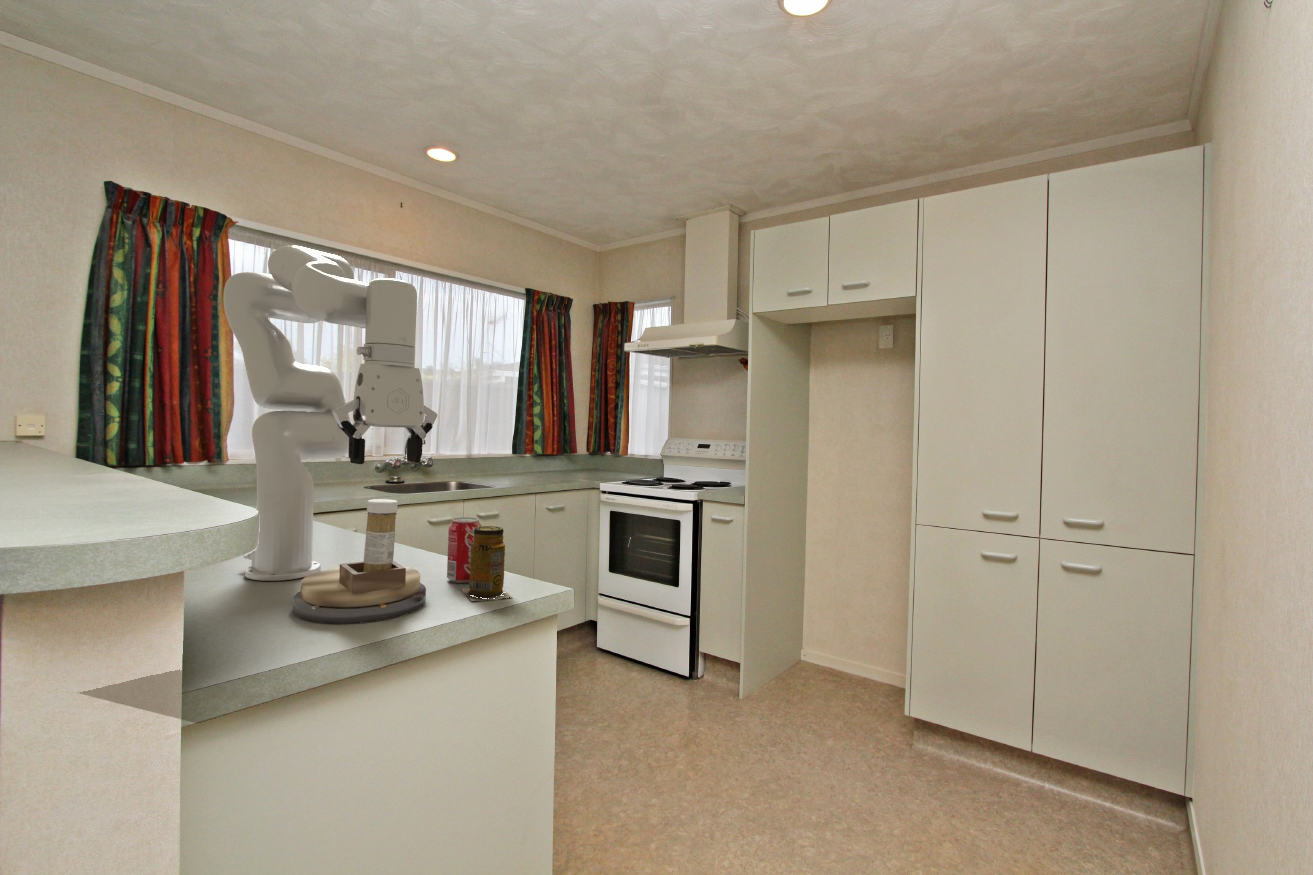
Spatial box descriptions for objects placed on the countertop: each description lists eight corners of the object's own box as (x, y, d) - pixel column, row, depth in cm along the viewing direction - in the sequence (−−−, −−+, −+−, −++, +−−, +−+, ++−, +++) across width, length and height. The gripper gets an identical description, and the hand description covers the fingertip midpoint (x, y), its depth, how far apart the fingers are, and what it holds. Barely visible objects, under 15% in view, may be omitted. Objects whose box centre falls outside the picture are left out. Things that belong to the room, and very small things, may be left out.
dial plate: (262, 613, 96) (262, 598, 96) (358, 582, 115) (359, 570, 115) (366, 631, 90) (366, 616, 90) (449, 595, 110) (450, 583, 110)
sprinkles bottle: (375, 577, 103) (381, 497, 103) (398, 581, 101) (404, 500, 102) (354, 583, 98) (361, 499, 98) (378, 587, 97) (384, 502, 97)
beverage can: (484, 577, 123) (487, 517, 123) (472, 585, 117) (474, 522, 117) (455, 575, 124) (457, 515, 123) (441, 583, 118) (443, 520, 117)
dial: (289, 585, 104) (290, 555, 104) (399, 571, 116) (399, 544, 115) (315, 614, 90) (316, 579, 90) (436, 595, 102) (437, 564, 102)
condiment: (500, 586, 117) (503, 524, 117) (512, 598, 110) (515, 532, 110) (461, 589, 114) (463, 525, 114) (470, 602, 107) (473, 534, 106)
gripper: (348, 350, 90) (344, 466, 91) (450, 362, 104) (446, 463, 105) (324, 352, 95) (320, 462, 95) (425, 363, 109) (421, 459, 109)
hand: (386, 462), depth 100 cm, fingers open, 9 cm apart
